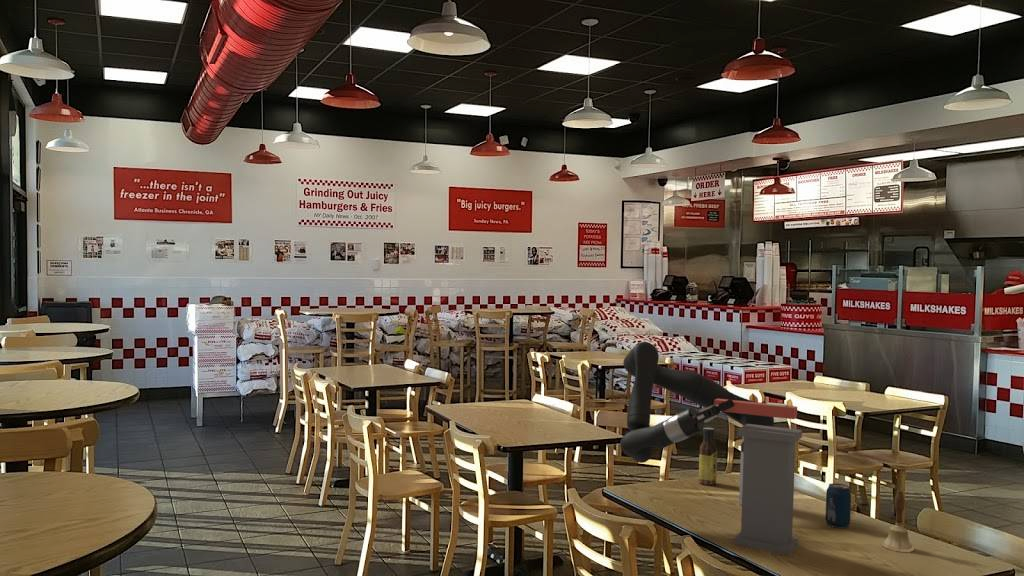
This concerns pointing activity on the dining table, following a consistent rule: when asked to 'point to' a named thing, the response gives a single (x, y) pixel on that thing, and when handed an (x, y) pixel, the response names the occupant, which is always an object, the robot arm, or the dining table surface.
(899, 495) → the hand bell
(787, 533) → the pedestal
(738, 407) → the red bar
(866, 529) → the dining table surface
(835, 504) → the soda can
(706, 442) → the sauce bottle
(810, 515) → the dining table surface
